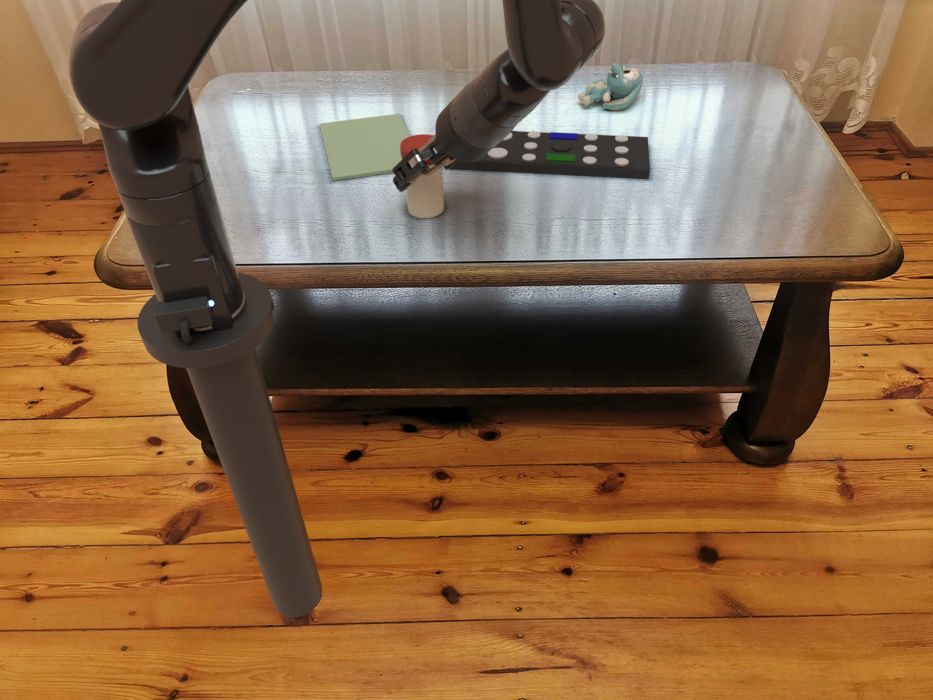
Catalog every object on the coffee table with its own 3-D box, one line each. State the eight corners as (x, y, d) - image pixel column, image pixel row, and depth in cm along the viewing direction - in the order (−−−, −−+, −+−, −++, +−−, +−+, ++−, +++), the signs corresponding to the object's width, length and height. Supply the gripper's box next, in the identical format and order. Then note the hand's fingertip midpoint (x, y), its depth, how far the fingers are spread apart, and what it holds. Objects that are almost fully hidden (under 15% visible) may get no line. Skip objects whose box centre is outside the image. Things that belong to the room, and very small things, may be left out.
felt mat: (423, 168, 116) (422, 165, 116) (332, 181, 114) (332, 177, 113) (400, 116, 131) (399, 113, 130) (320, 126, 128) (319, 123, 128)
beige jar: (447, 215, 106) (444, 152, 99) (411, 220, 105) (406, 158, 98) (439, 197, 109) (436, 136, 103) (404, 202, 108) (399, 141, 102)
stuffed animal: (563, 67, 132) (623, 43, 133) (568, 104, 137) (625, 81, 138) (594, 89, 124) (656, 63, 126) (597, 127, 129) (657, 102, 131)
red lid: (447, 162, 100) (447, 150, 99) (405, 168, 99) (404, 155, 98) (438, 144, 104) (437, 131, 103) (397, 149, 103) (396, 137, 102)
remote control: (460, 137, 124) (460, 125, 123) (646, 145, 120) (648, 133, 119) (449, 168, 116) (448, 157, 115) (648, 179, 112) (650, 166, 111)
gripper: (503, 73, 93) (444, 133, 107) (418, 109, 86) (367, 168, 100) (533, 126, 94) (471, 178, 108) (452, 166, 87) (396, 217, 100)
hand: (421, 173), depth 104 cm, fingers open, 8 cm apart
